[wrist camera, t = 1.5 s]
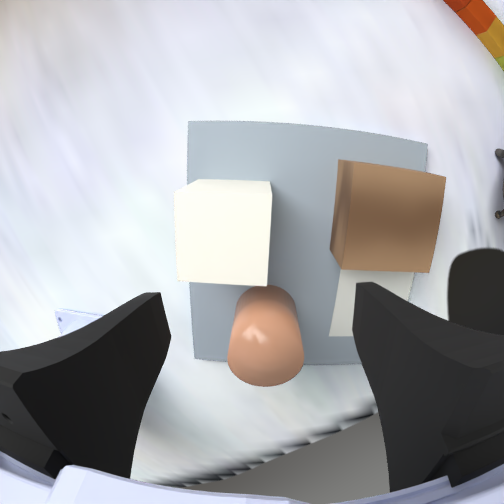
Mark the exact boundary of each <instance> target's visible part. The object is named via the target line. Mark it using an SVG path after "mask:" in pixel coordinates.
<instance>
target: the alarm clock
mask: <svg viewBox="0 0 504 504" xmlns="http://www.w3.org/2000/svg"><path fill="white" fill-rule="evenodd" d="M495 153H496V155H498V156H500V157H502V158H504V150H502V149H496V151H495ZM503 198H504V181H503ZM501 216H502V217H503V216H504V209H503V210H502V211H497V212H496V213H495V217H496V218H498V219H499V218H501Z"/></svg>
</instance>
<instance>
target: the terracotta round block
mask: <svg viewBox="0 0 504 504" xmlns="http://www.w3.org/2000/svg"><path fill="white" fill-rule="evenodd" d="M227 360H228V365H229V367H230V369H231V371H232V372H233V373H234V375H235V376H237V377H238V378H239V379H240V380H242V381H244V382H246V383H248V384H251V385H255V386H263V387H268V386H276V385H280V384H283V383H285V382H287V381H289V380H291V379H292V378H293V377H295V376H296V375H297V374H298V372H299V371H300V370H301V368H302V366H303V363H304V351H303V345H302V339H301V333H300V328H299V322H298V316H297V311H296V305H295V302H294V300H293V298H292V297H291V295H290V294H289V293H288V292H287V291H285V290H284V289H282V288H280V287H277V286H274V285H267V286H254V287H252V288H250V289H248V290H247V291H245V292H244V293H243V294H242V295H241V296H240V298H239V299H238V301H237V303H236V308H235V314H234V319H233V325H232V331H231V337H230V343H229V349H228V356H227Z"/></svg>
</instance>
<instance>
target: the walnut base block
mask: <svg viewBox="0 0 504 504" xmlns="http://www.w3.org/2000/svg"><path fill="white" fill-rule="evenodd" d="M445 183H446V177H443V176H439V175H435V174H431V173H427V172H422V171H417V170H412V169H406V168H400V167H394V166H387V165H380V164H373V163H366V162H358V161H349V160H341V159H338V170H337V183H336V194H335V204H334V214H333V223H332V232H331V241H330V251H331V253H332V254H333V256H334V258H335V259H336V261H337V263H338V264H339V266H340V268H341V270H364V271H391V272H422V273H429V271H430V267H431V263H432V258H433V254H434V249H435V244H436V239H437V234H438V229H439V224H440V218H441V212H442V205H443V198H444V191H445Z"/></svg>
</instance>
